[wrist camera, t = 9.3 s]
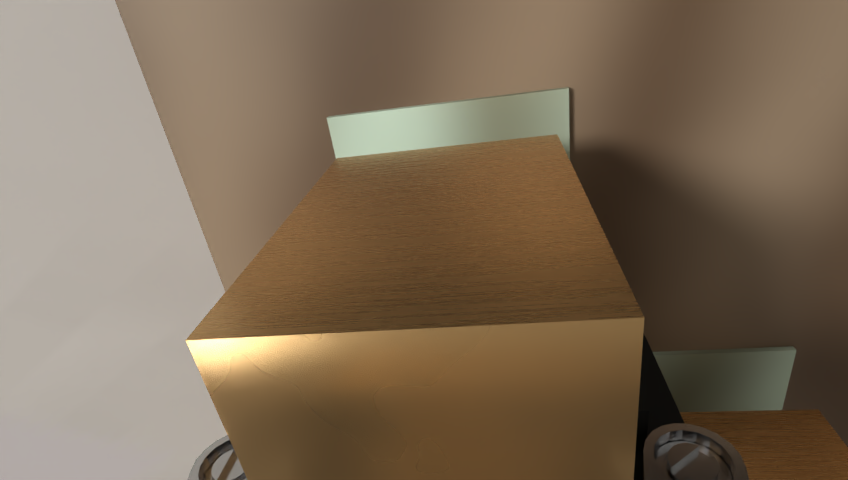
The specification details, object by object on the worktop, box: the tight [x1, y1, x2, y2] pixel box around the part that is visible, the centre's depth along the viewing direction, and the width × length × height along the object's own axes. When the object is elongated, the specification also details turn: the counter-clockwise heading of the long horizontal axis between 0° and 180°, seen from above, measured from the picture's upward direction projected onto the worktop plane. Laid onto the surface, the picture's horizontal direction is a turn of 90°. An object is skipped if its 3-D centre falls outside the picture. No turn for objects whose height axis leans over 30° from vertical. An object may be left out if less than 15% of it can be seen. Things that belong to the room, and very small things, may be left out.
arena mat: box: [115, 0, 848, 447], centre depth 13 cm, size 22×22×1 cm
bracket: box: [186, 134, 848, 480], centre depth 10 cm, size 12×10×6 cm
